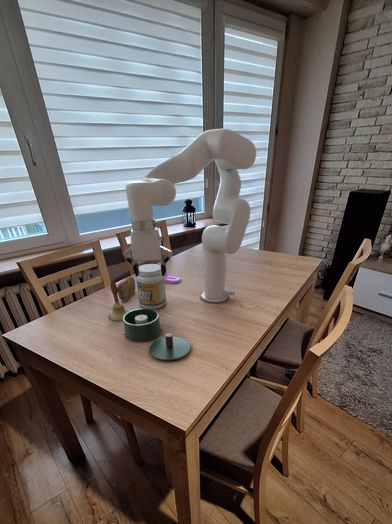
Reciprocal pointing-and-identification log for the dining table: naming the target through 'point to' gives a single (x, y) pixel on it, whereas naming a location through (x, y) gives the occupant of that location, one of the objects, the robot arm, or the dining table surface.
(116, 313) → the hand bell
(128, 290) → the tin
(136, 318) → the candle
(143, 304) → the supplement tub
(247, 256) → the dining table surface
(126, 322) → the candle tin
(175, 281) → the bracket
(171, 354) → the tin lid
